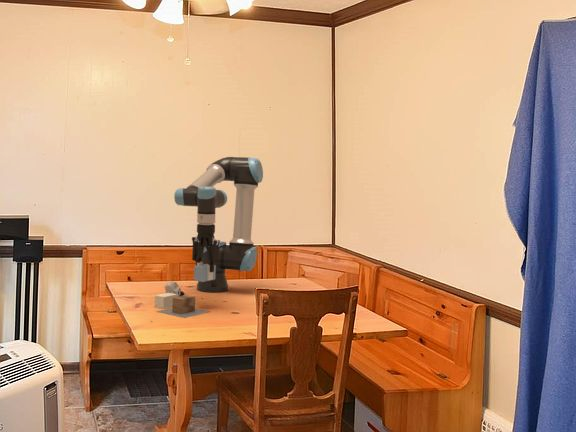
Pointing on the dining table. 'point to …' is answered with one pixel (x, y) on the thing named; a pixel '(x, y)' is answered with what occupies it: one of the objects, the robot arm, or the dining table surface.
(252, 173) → the robot arm
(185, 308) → the brick base
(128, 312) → the dining table surface
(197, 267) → the brick top
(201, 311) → the build board
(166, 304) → the brick
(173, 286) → the toy
